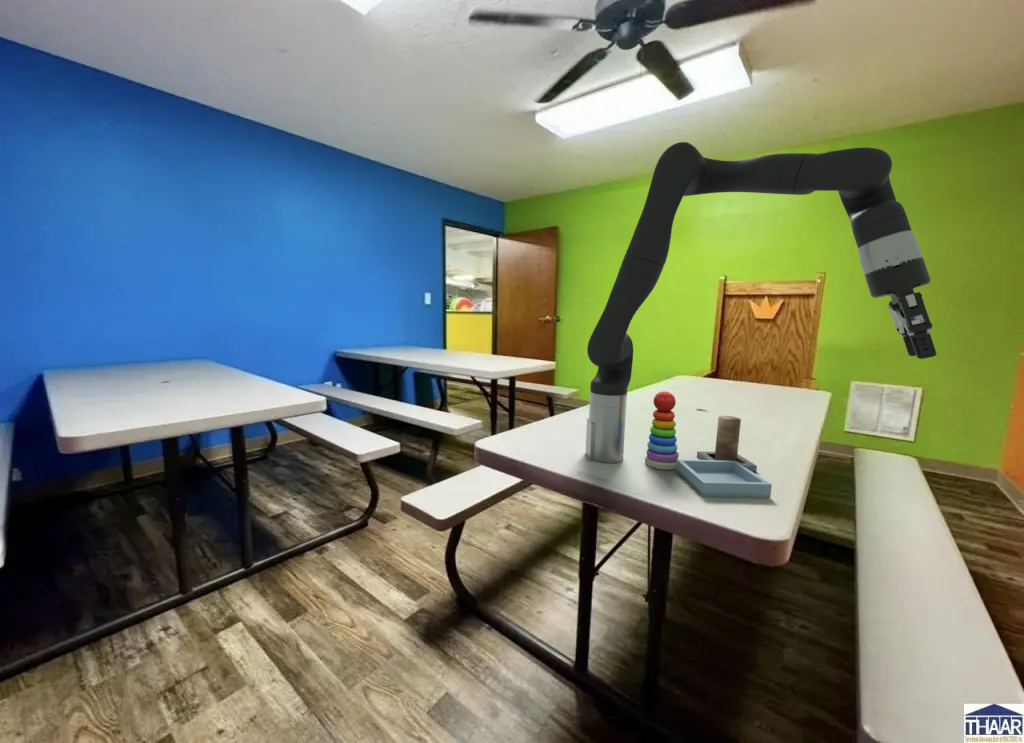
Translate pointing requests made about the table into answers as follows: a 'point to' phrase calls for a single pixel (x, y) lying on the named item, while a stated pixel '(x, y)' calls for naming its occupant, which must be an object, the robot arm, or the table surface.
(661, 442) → the stacking toy
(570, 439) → the table surface
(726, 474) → the tray
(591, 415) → the robot arm
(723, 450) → the walnut peg
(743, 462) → the socket plate
